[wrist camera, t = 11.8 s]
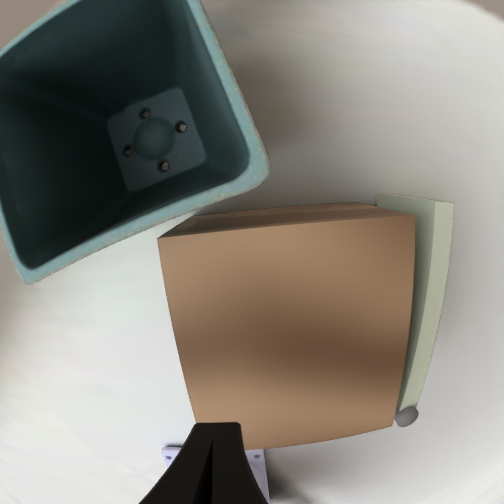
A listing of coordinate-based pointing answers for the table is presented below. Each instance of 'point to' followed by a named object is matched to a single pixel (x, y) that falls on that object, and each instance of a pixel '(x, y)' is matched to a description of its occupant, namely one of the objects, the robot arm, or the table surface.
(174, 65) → the flower pot
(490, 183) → the table surface
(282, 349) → the cabinet
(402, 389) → the door
